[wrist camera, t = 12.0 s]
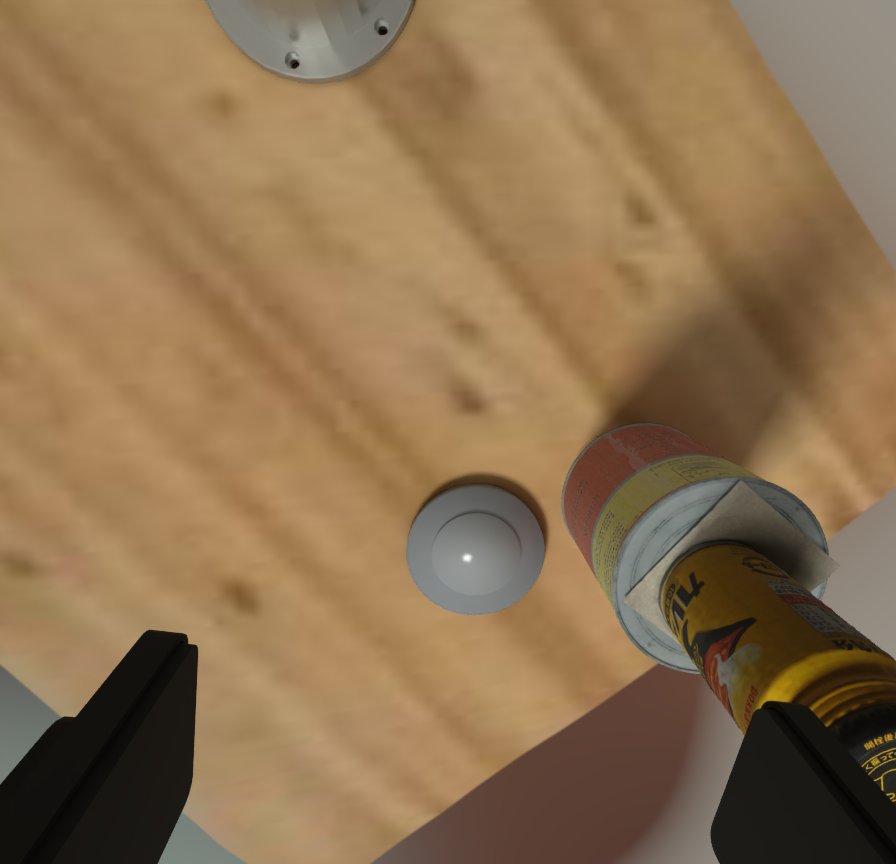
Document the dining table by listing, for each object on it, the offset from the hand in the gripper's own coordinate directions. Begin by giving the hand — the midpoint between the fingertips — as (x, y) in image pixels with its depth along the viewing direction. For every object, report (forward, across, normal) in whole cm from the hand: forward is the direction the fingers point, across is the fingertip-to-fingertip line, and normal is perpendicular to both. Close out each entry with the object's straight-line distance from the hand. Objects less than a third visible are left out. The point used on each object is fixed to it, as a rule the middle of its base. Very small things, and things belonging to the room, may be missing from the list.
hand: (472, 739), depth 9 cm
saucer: (+29, -4, +11) cm, 32 cm away
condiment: (+18, -16, +5) cm, 24 cm away
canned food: (+30, -16, +6) cm, 34 cm away
